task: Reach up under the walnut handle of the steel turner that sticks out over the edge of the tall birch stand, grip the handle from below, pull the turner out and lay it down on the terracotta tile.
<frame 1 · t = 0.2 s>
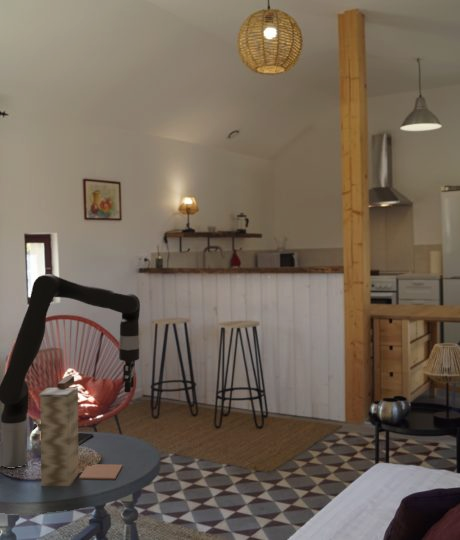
hand: (129, 389, 250), 29 cm above the table, tool pointing down, fingers open, 8 cm apart
tile: (101, 472, 244), on the table
stand: (60, 479, 236), on the table
tin: (50, 440, 283), on the table
phone: (77, 441, 283), on the table
turner: (57, 393, 232), point 32 cm above the table, touching stand
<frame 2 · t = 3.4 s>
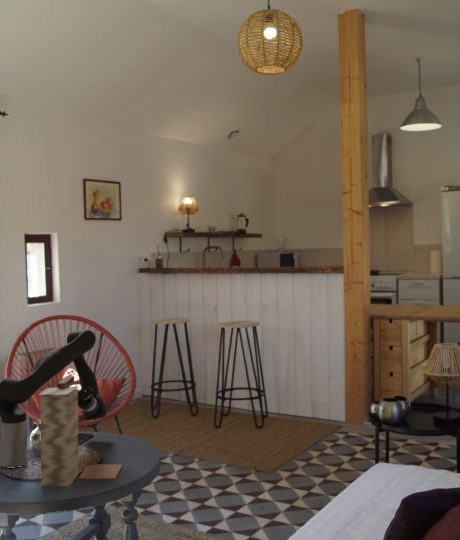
hand: (76, 389, 258), 28 cm above the table, tool pointing upward, fingers open, 8 cm apart
nothing on the table moved.
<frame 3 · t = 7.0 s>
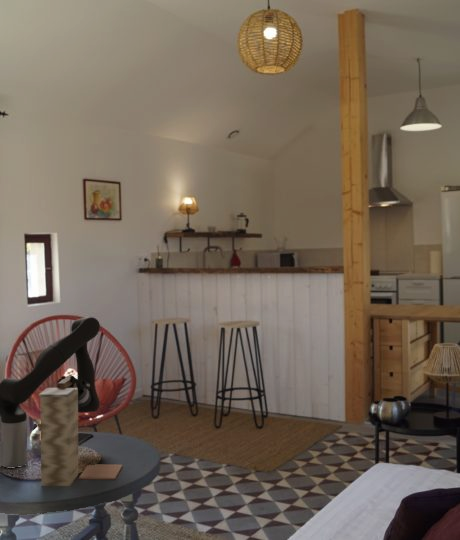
hand: (67, 378, 244), 35 cm above the table, tool pointing upward, fingers closed on turner, 2 cm apart
turner: (57, 393, 232), point 32 cm above the table, touching gripper, stand
everything else where it was.
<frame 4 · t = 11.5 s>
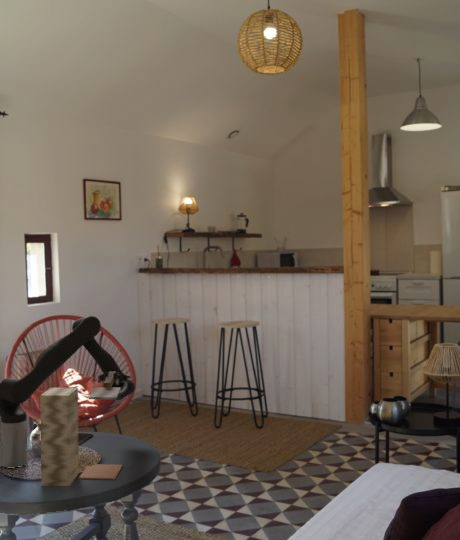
hand: (110, 375, 254), 34 cm above the table, tool pointing upward, fingers closed on turner, 2 cm apart
turner: (104, 394, 242), point 29 cm above the table, tilted 8°, touching gripper
everything else where it was.
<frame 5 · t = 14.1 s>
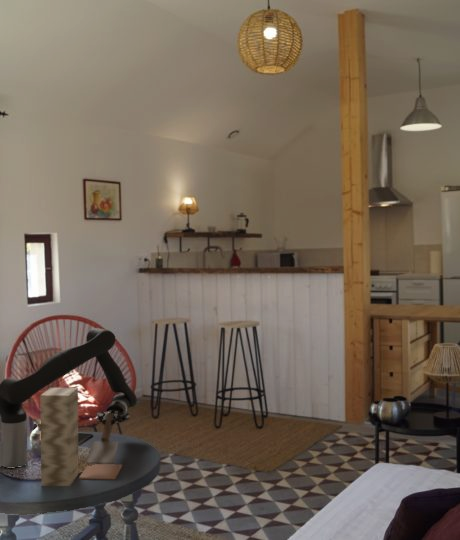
hand: (108, 422, 255), 15 cm above the table, tool horizontal, fingers closed on turner, 2 cm apart
turner: (102, 453, 246), point 6 cm above the table, tilted 30°, touching gripper
everything else where it was.
when the fingers open (6 cm above the table, at t = 16.3 s): turner drops 1 cm, resting on tile.
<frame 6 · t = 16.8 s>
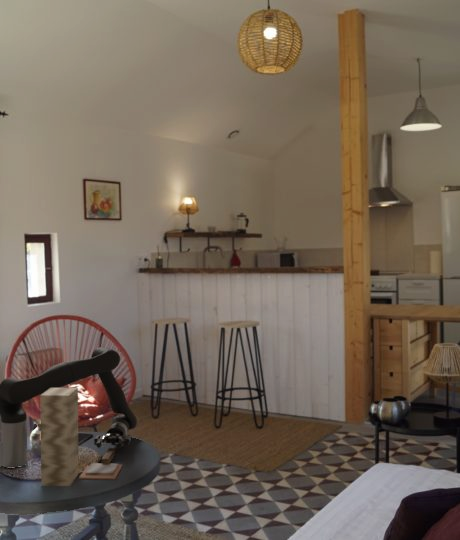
hand: (108, 445, 256), 6 cm above the table, tool horizontal, fingers open, 7 cm apart
turner: (102, 470, 244), point 1 cm above the table, touching tile
everything else where it was.
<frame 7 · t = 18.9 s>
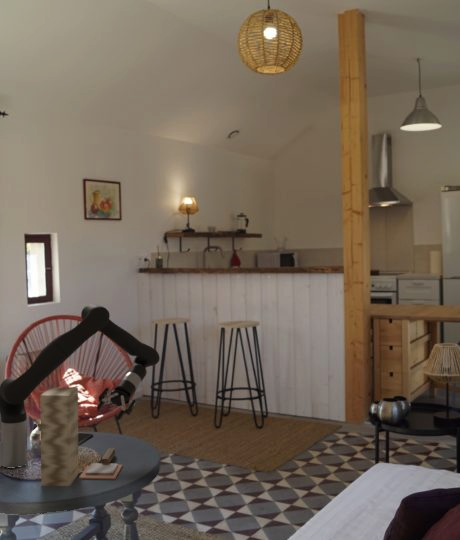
hand: (107, 414, 259), 17 cm above the table, tool tilted 55°, fingers open, 8 cm apart
nothing on the table moved.
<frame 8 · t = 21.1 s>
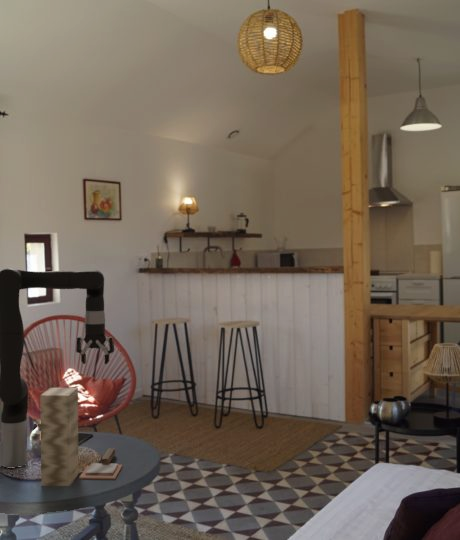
hand: (95, 363, 255), 38 cm above the table, tool pointing down, fingers open, 8 cm apart
nothing on the table moved.
at the end: the gripper is holding nothing; turner point 0.6 cm above the table; turner 0.8 cm from the tile (horizontally) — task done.
